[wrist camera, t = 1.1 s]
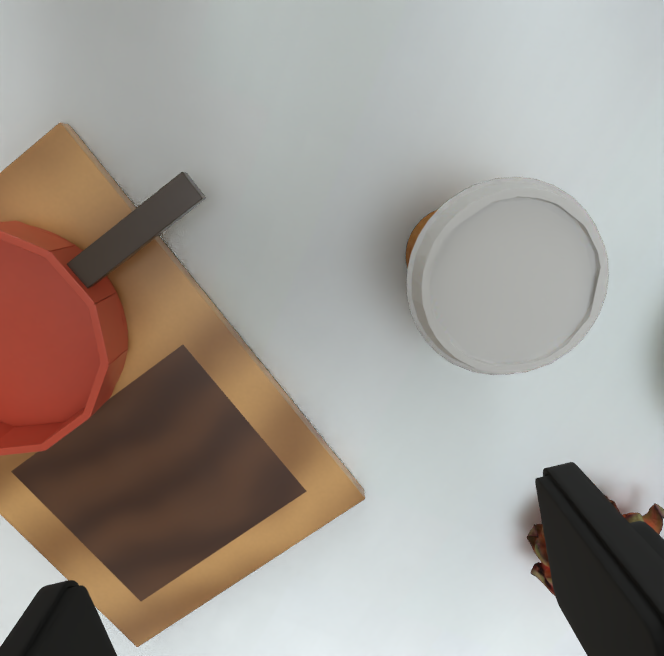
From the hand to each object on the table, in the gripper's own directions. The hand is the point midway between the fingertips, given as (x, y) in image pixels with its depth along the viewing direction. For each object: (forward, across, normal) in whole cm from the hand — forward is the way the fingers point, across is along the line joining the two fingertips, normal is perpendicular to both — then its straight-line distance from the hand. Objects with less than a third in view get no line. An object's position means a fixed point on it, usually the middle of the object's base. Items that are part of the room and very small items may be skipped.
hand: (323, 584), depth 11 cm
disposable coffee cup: (+27, -9, -1) cm, 29 cm away
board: (+27, +17, +4) cm, 32 cm away
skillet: (+26, +15, -5) cm, 30 cm away
